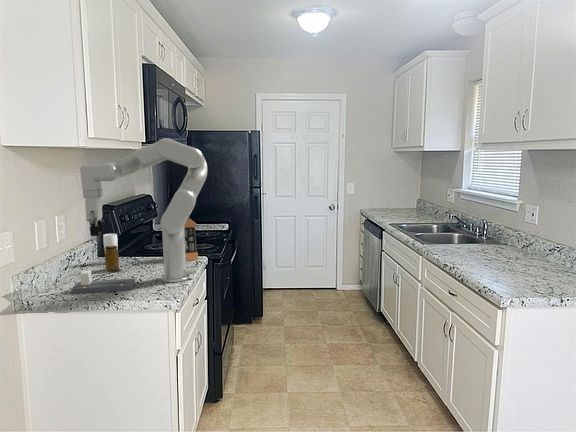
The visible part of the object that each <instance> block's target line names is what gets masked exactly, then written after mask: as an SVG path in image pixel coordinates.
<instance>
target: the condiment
mask: <svg viewBox="0 0 576 432" xmlns="http://www.w3.org/2000/svg"><path fill="white" fill-rule="evenodd" d="M105 251H106V252H105ZM119 259H120V258H119V251H118V248H117V246H115V245H111V246H106V247H105V249H104V262H105V270H103V273H115V272H116V273H118V272H123V271H124V270H125V269H126V267H120V262H119V261H120V260H119Z"/></svg>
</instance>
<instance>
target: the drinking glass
mask: <svg viewBox="0 0 576 432" xmlns="http://www.w3.org/2000/svg"><path fill="white" fill-rule="evenodd" d="M102 238H103V239H102V240H103V241H102V242H103V250H104V253H105V252H106V251H105V247H106V246H111V245H115V246H117V249H118V242H119V241H118V240H119V238H118V233H105V234H103V235H102Z"/></svg>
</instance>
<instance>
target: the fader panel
mask: <svg viewBox="0 0 576 432" xmlns="http://www.w3.org/2000/svg"><path fill="white" fill-rule="evenodd" d="M135 284H136V278H121V279H120V278H118V279H116V278H115V279H103V280H101V279H100V280H92V282H91V283H90V285H82V286H81V281H78V282H76V283H75V285H74V286H73V287H71V289H70V290H71V294H72V295H73V294H75V295H76V294H86V293H87V294H89V293H90V294H91V293H103V292H106V293H107V292H117V291H119V292H121V291H132V290H133V289H134V287H135Z"/></svg>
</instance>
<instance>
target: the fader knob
mask: <svg viewBox="0 0 576 432" xmlns="http://www.w3.org/2000/svg"><path fill="white" fill-rule="evenodd" d="M79 275H80V282H81V286H82V285H90V283H91V282H92V281H93V280H92V270H82V271H81V273H80V274H79Z"/></svg>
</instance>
